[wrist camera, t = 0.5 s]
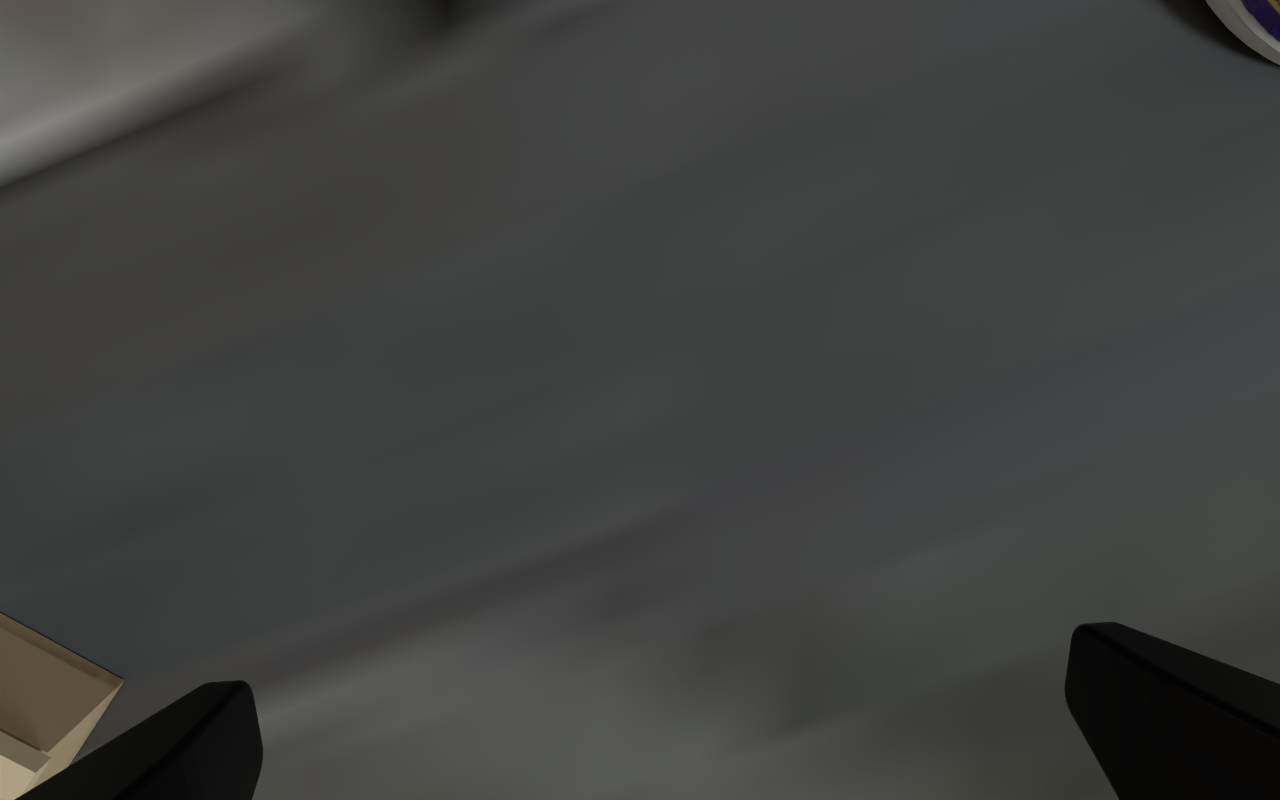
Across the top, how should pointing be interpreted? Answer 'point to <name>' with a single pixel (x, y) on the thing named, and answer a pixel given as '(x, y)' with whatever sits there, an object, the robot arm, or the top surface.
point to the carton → (49, 694)
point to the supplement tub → (1252, 23)
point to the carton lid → (18, 767)
